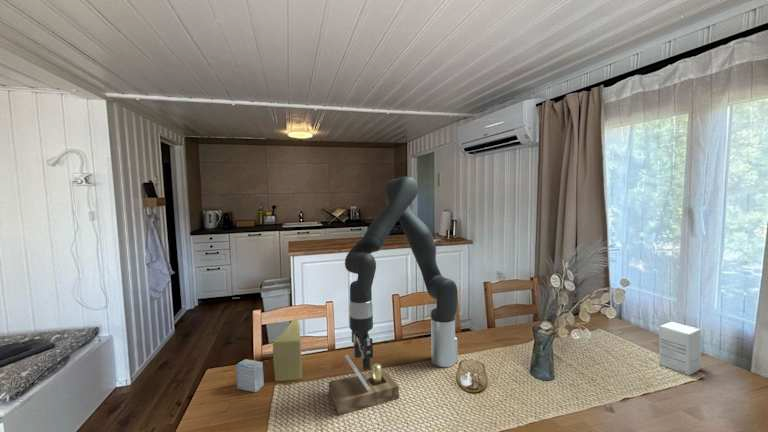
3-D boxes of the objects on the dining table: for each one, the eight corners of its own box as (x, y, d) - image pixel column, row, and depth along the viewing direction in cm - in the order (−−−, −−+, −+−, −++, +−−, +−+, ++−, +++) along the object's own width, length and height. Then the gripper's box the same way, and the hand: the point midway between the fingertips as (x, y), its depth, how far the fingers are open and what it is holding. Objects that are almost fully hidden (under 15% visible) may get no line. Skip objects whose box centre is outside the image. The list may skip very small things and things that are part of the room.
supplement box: (670, 358, 123) (670, 320, 123) (701, 369, 115) (701, 328, 115) (657, 364, 119) (658, 325, 119) (688, 376, 111) (689, 333, 111)
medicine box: (264, 386, 111) (263, 361, 110) (255, 393, 107) (254, 368, 106) (246, 382, 113) (245, 358, 113) (236, 389, 109) (235, 364, 109)
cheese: (285, 353, 135) (284, 318, 134) (309, 351, 136) (308, 317, 135) (273, 382, 113) (272, 341, 112) (301, 380, 114) (300, 339, 113)
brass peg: (379, 388, 107) (379, 362, 107) (383, 393, 105) (382, 366, 104) (371, 390, 106) (370, 364, 106) (374, 395, 104) (373, 368, 103)
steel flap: (358, 375, 108) (360, 373, 108) (368, 391, 99) (370, 389, 99) (344, 355, 106) (347, 353, 106) (353, 370, 97) (356, 367, 97)
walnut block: (384, 379, 113) (384, 368, 113) (398, 398, 102) (398, 386, 102) (328, 393, 105) (328, 381, 105) (338, 415, 94) (337, 402, 94)
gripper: (380, 319, 97) (381, 371, 98) (364, 305, 111) (365, 351, 111) (356, 323, 95) (357, 376, 95) (343, 308, 108) (344, 355, 108)
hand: (362, 363), depth 103 cm, fingers open, 8 cm apart
